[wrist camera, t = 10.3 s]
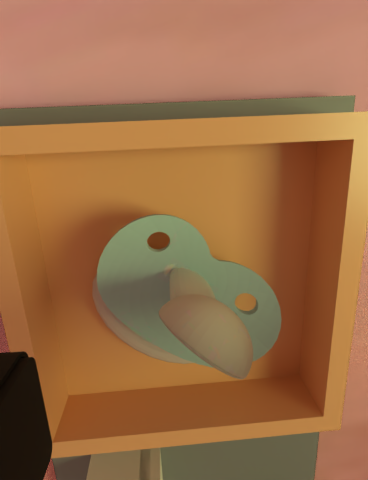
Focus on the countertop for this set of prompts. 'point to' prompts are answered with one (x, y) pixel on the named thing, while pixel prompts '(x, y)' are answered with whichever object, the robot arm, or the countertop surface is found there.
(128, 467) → the board
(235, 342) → the pacifier
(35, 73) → the countertop surface
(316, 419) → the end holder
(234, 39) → the countertop surface
